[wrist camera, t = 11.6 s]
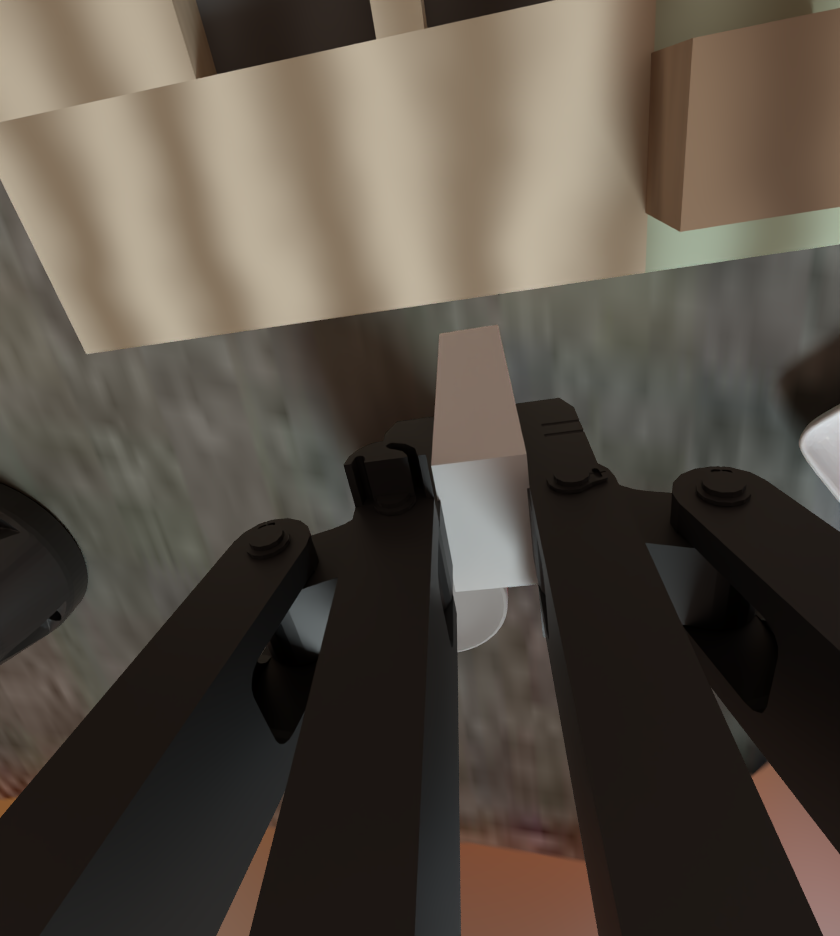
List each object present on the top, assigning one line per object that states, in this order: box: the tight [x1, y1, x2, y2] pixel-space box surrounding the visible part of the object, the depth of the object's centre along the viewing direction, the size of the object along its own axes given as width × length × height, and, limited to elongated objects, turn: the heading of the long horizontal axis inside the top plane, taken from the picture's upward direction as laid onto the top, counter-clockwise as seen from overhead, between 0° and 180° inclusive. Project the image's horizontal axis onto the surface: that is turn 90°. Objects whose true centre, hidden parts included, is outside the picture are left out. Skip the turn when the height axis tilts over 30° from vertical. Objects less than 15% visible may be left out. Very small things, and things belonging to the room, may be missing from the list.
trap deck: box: [0, 0, 840, 354], centre depth 24 cm, size 40×22×3 cm, turn 100°
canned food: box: [453, 582, 508, 652], centre depth 33 cm, size 8×8×11 cm
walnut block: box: [646, 8, 840, 232], centre depth 22 cm, size 6×6×5 cm
